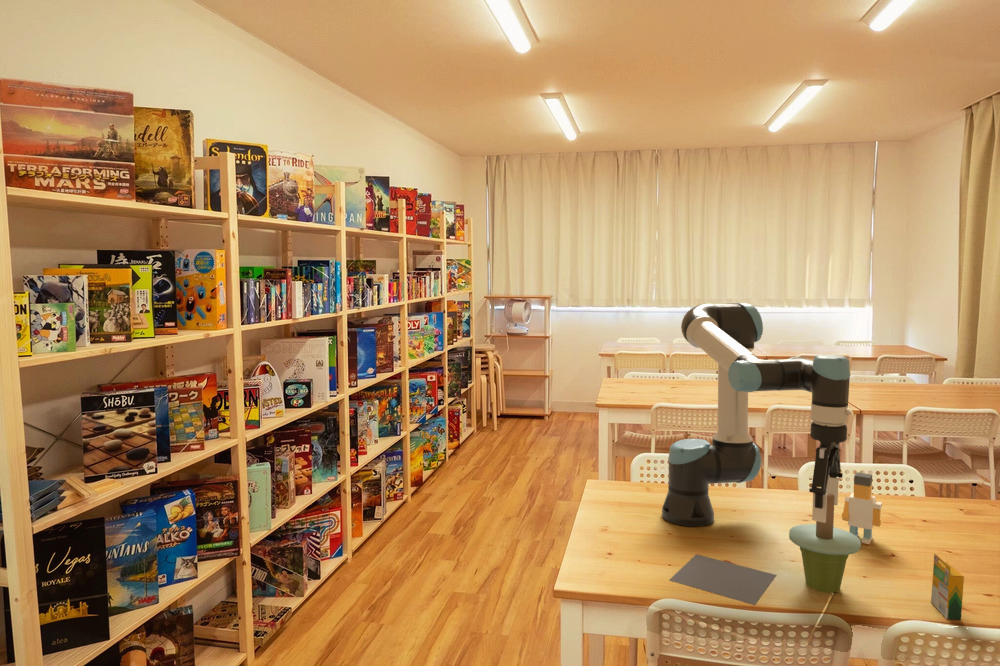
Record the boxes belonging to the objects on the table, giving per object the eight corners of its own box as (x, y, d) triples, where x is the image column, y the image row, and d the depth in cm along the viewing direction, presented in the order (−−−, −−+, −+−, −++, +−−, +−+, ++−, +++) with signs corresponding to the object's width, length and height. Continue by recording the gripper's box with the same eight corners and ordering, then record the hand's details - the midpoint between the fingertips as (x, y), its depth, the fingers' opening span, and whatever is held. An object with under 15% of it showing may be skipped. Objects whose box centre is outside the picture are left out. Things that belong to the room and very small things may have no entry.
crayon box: (962, 620, 140) (965, 568, 139) (946, 619, 141) (949, 567, 140) (945, 603, 147) (948, 553, 146) (930, 602, 148) (933, 552, 147)
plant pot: (786, 575, 161) (788, 531, 160) (836, 576, 161) (838, 531, 160) (807, 599, 150) (809, 551, 148) (860, 600, 149) (863, 552, 148)
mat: (668, 582, 158) (668, 580, 158) (696, 556, 172) (696, 554, 172) (754, 607, 146) (754, 604, 146) (776, 577, 160) (776, 574, 160)
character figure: (884, 544, 179) (888, 479, 178) (845, 543, 180) (848, 479, 178) (870, 533, 187) (873, 471, 185) (832, 532, 188) (835, 470, 186)
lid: (782, 544, 152) (783, 497, 151) (796, 524, 165) (798, 480, 164) (855, 560, 144) (857, 511, 143) (864, 538, 156) (867, 492, 155)
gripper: (836, 435, 139) (832, 532, 141) (856, 415, 159) (852, 500, 161) (798, 430, 144) (794, 525, 146) (822, 411, 164) (819, 494, 166)
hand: (825, 512), depth 154 cm, fingers open, 13 cm apart
